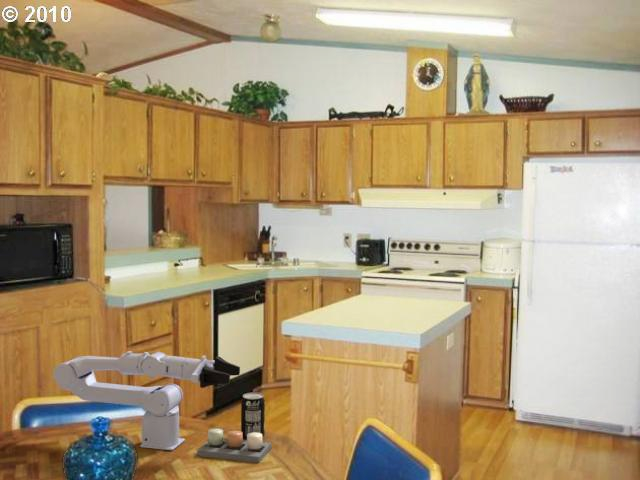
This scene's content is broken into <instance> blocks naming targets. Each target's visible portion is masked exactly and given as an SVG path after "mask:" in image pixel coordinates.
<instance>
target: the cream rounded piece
mask: <svg viewBox="0 0 640 480" xmlns="http://www.w3.org/2000/svg"><path fill="white" fill-rule="evenodd" d="M262 442H263V438H262V434H261V433H257V432H254V433H249V434H247V447H248V448H249V449H259V448H261V447H262Z"/></svg>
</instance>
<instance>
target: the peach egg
mask: <svg viewBox="0 0 640 480" xmlns="http://www.w3.org/2000/svg"><path fill="white" fill-rule="evenodd" d="M226 435H227V436H226V438H227V445H228V446H230V447H239V446H241V445H242V444H243V440H244V439H243V433H242V432H241V430H230V431H228V432H227V433H226Z"/></svg>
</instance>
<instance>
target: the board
mask: <svg viewBox="0 0 640 480" xmlns="http://www.w3.org/2000/svg"><path fill="white" fill-rule="evenodd" d="M271 449H272V442H266V441H265V442H264V441H262V447H261V448H259V449H249V448H248V447H247V440H245V439H243V444H242V445H241V446H239V447H230V446H228V445H227V437H223V443H222V444H219V445H211V444H208V440H206V442H205V443H203V444H202V445H201V446H200V447H199V448H198V449H197V452H196V453H197V455H196V456H197V457H206V458H215V459H224V460H233V461H240V462H241V461H242V462H251V463H258V464H259V463H261V461H262V460H263V459H264V457H266V456H267V454H268V453H269V452H270V450H271ZM257 451H258V452H257Z"/></svg>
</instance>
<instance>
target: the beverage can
mask: <svg viewBox="0 0 640 480" xmlns="http://www.w3.org/2000/svg"><path fill="white" fill-rule="evenodd" d="M240 403H241V404H240V405H241V406H240V407H241V408H240V431H241V432H242V433H243V440H247V434H249V433H254V432H257V433H261V434H262V439H264V437H265V434H266V433H265V432H266V431H265V427H266V426H265V425H266V424H265V421H266V420H265V419H266V418H265V417H266V415H265V414H266V413H265V412H266V407H265V406H266V401H265V398H264V394H263V393H260V392H247V393H244V394H243V395H242V399H241V400H240Z"/></svg>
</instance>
